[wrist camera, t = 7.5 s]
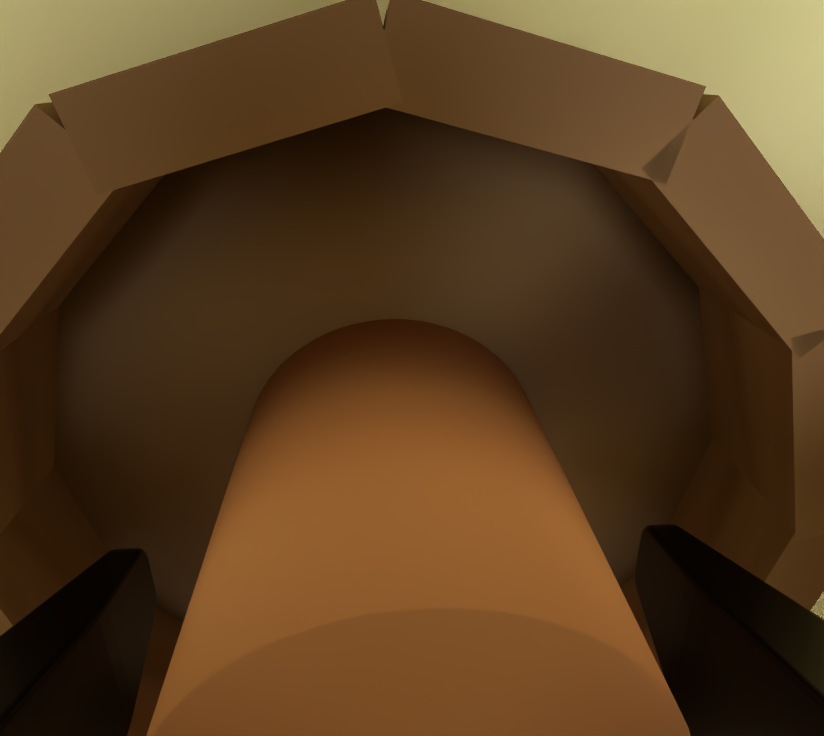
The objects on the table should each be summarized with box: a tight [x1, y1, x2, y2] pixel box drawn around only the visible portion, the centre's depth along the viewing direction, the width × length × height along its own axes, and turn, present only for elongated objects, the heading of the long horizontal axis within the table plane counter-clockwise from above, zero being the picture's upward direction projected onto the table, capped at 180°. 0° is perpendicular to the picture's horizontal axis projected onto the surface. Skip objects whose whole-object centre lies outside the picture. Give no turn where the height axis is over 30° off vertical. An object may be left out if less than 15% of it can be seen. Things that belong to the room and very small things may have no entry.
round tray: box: [0, 0, 824, 736], centre depth 10 cm, size 13×13×3 cm
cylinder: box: [146, 319, 690, 736], centre depth 9 cm, size 5×5×6 cm
